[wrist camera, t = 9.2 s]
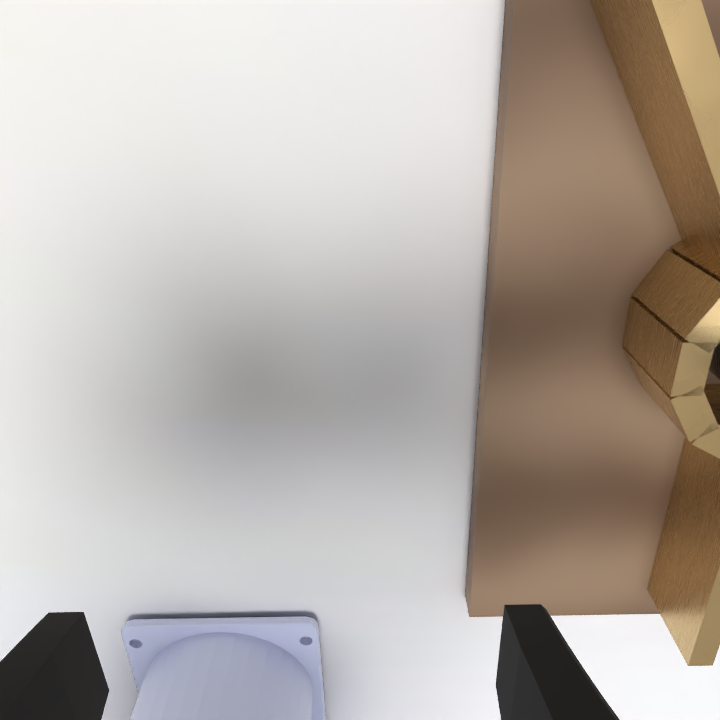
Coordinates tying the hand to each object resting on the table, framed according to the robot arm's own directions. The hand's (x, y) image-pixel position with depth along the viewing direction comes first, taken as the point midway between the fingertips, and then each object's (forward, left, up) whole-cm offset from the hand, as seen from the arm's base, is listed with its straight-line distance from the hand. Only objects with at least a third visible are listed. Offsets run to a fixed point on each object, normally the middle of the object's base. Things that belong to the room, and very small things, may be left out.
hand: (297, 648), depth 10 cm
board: (+1, -10, -10) cm, 15 cm away
